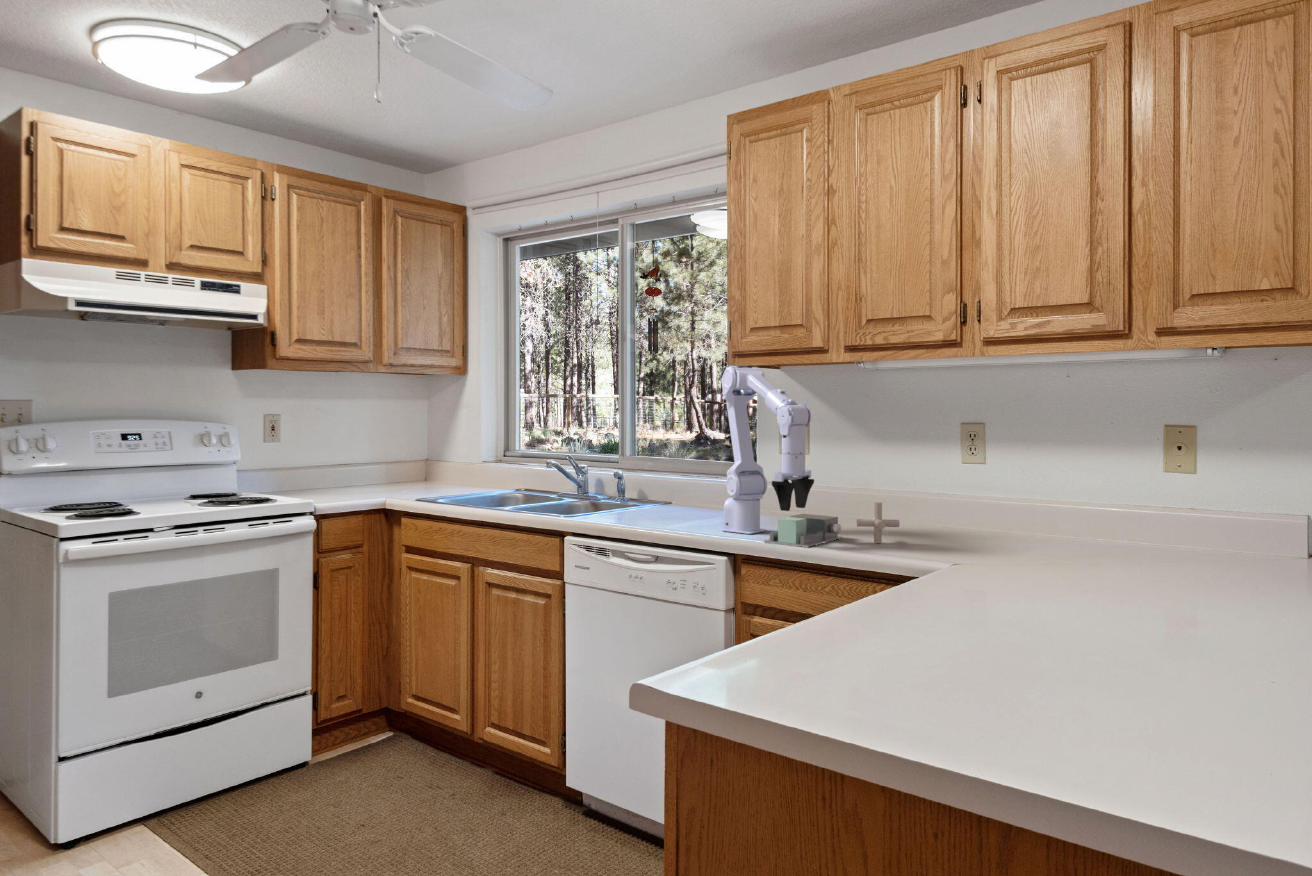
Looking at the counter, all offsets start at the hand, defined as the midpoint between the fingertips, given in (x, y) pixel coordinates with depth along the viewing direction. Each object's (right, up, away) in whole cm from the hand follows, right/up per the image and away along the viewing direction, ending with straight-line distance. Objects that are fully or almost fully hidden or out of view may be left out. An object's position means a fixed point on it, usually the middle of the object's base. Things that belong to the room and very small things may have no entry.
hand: (792, 509), depth 203 cm
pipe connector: (+21, -9, +1) cm, 23 cm away
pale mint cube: (0, -8, +1) cm, 8 cm away
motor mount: (+4, -8, +5) cm, 10 cm away
